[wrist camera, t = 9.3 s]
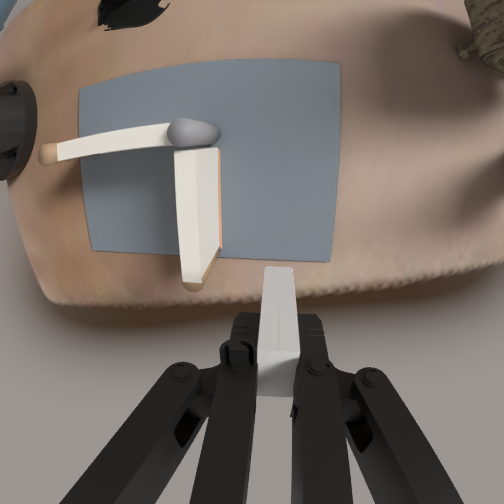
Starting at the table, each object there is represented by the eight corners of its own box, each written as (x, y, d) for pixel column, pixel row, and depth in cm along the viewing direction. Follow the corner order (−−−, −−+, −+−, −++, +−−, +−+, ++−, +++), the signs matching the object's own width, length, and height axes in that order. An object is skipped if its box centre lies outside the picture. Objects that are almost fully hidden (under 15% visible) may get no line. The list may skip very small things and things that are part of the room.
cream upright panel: (200, 147, 24) (172, 151, 18) (219, 147, 24) (197, 150, 18) (203, 257, 29) (182, 291, 22) (220, 257, 29) (203, 293, 22)
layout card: (94, 249, 31) (92, 250, 30) (81, 89, 23) (79, 89, 23) (329, 260, 28) (330, 262, 28) (338, 64, 21) (339, 63, 20)
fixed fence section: (91, 156, 26) (38, 167, 18) (90, 139, 25) (37, 146, 18) (221, 143, 25) (195, 146, 17) (221, 123, 24) (194, 116, 16)
